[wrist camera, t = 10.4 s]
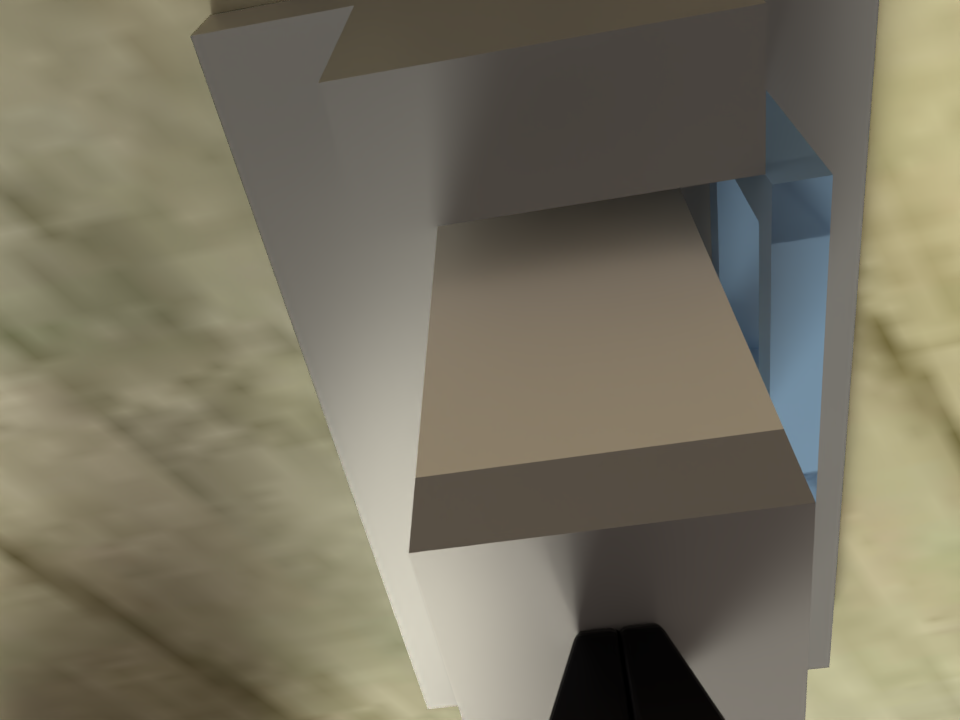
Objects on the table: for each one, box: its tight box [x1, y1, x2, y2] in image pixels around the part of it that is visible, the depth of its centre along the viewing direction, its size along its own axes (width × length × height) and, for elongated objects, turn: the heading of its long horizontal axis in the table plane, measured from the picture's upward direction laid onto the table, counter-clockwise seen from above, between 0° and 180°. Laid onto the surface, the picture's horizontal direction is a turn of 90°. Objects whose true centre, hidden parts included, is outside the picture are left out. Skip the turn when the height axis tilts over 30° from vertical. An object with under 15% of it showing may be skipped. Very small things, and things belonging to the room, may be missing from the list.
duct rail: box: [191, 0, 879, 709], centre depth 17 cm, size 17×10×5 cm, turn 10°
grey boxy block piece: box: [409, 188, 816, 720], centre depth 12 cm, size 4×4×8 cm
